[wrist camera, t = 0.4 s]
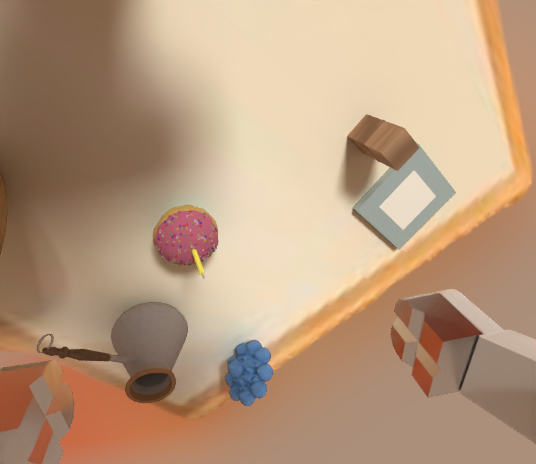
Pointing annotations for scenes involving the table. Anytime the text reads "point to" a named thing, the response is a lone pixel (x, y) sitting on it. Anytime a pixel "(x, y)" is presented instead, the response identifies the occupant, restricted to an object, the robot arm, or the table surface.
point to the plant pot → (2, 212)
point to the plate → (405, 198)
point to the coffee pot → (141, 349)
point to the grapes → (249, 372)
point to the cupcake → (186, 236)
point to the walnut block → (384, 141)
